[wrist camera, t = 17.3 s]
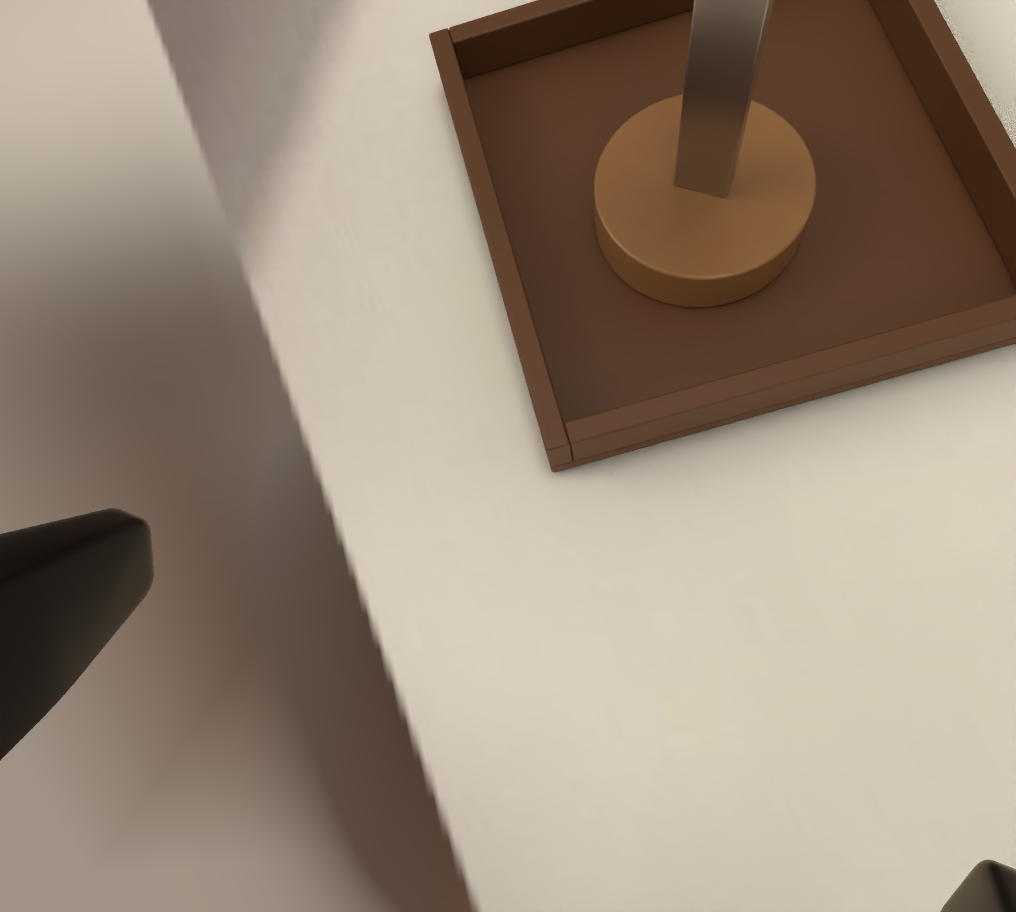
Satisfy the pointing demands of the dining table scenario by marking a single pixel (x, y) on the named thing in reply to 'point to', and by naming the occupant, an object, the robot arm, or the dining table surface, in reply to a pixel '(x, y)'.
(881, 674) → the dining table surface
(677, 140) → the red knob post
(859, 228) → the tray
